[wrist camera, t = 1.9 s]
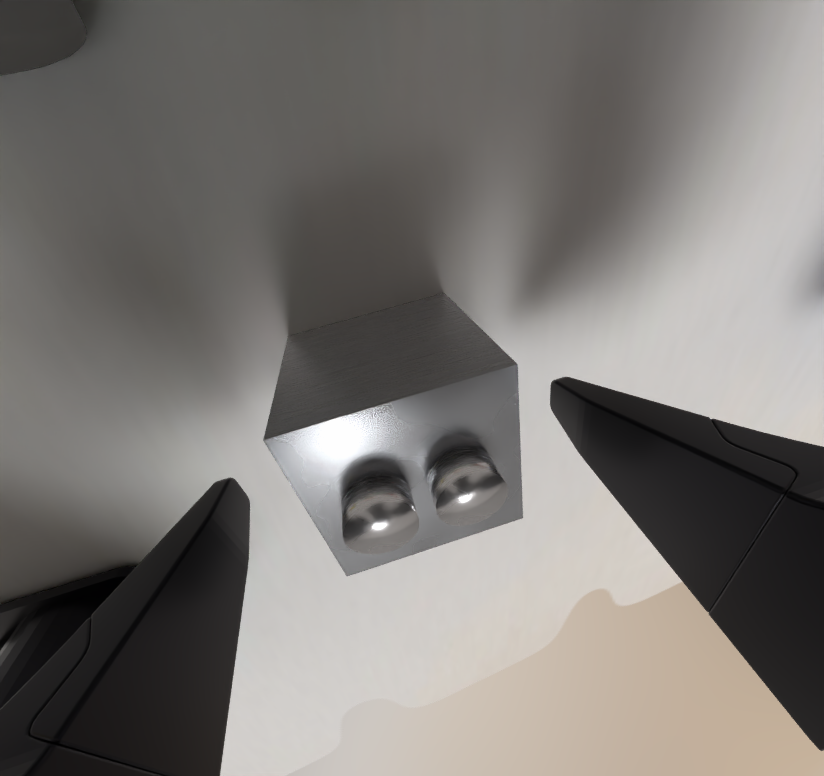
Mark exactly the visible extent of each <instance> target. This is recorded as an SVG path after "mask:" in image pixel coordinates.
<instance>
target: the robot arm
mask: <svg viewBox="0 0 824 776" xmlns="http://www.w3.org/2000/svg"><path fill="white" fill-rule="evenodd" d="M550 406H551V409H552V411H553V413H554V415H555V416H556V418H557V419H558V421H559V423H560V424H561V426H562V427H563V429H564V430H565V432H566V434H567V435H568V437H569V438H570V440H571V441H572V443H573V445H574V446H575V448H576V449H577V451H578V452H579V454H580V455H581V456H582V457H583V459H584V460H585V461H586V463H587V464H588V465H589V466H590V468H591V469H592V470H593V471H594V472H595V474H596V475H597V476H598V477H599V479H600V480H601V481H602V482H603V484H604V485H605V486H606V487H607V489H608V490H609V491H610V492H611V494H612V495H613V496H614V497H615V498H616V500H617V501H618V502H619V503H620V505H621V506H622V507H623V508H624V510H625V511H626V512H627V513H628V515H629V516H630V517H631V518H632V520H633V521H634V522H635V523H636V524H637V526H638V527H639V528H640V529H641V531H642V532H643V533H644V534H645V536H646V537H647V538H648V539H649V541H650V542H651V543H652V544H653V546H654V547H655V548H656V549H657V550H658V552H659V553H660V554H661V555H662V557H663V558H664V559H665V560H666V562H667V563H668V564H669V565H670V567H671V568H672V569H673V570H674V572H675V573H676V574H677V575H678V576H679V578H680V579H681V580H682V581H683V582H684V584H685V585H686V586H687V587H688V589H689V590H690V591H691V592H692V594H693V595H694V596H695V597H696V599H697V600H698V601H699V602H700V604H701V605H702V606H703V607H704V609H705V610H706V611H707V612H709V615H710V616H711V618H712V619H713V620H714V621H715V623H716V624H717V625H718V626H719V627H720V629H721V630H722V631H723V633H724V634H725V635H726V636H727V637H728V639H729V640H730V641H731V642H732V644H733V645H734V646H735V647H736V649H737V650H738V651H739V652H740V654H741V655H742V656H743V657H744V659H745V660H746V661H747V662H748V663H749V665H750V666H751V667H752V668H753V670H754V671H755V672H756V673H757V675H758V676H759V677H760V678H761V679H762V681H763V682H764V683H765V684H766V686H767V687H768V688H769V689H770V691H771V692H772V693H773V694H774V696H775V697H776V698H777V699H778V701H779V702H780V703H781V704H782V706H783V707H784V708H785V709H786V710H787V712H788V713H789V714H790V715H791V717H792V718H793V719H794V720H795V722H796V723H797V724H798V725H799V727H800V728H801V729H802V730H803V732H804V733H805V734H806V735H807V736H808V738H809V739H810V740H811V741H812V742H813V743H814V744H815V745H816V747H817V748H818V749H819V750H821V751H823V750H824V447H822V446H817V445H813V444H809V443H805V442H800V441H796V440H792V439H788V438H784V437H780V436H776V435H771V434H767V433H763V432H759V431H756V430H752V429H748V428H745V427H741V426H737V425H734V424H730V423H727V422H723V421H720V420H716V419H710V418H709V417H706V416H702V415H699V414H695V413H692V412H688V411H685V410H681V409H678V408H674V407H671V406H667V405H664V404H660V403H657V402H654V401H650V400H647V399H643V398H640V397H636V396H633V395H629V394H626V393H622V392H619V391H615V390H612V389H608V388H605V387H601V386H598V385H594V384H591V383H587V382H584V381H580V380H577V379H573V378H570V377H562V378H559V379H556V380H553V381H552V383H551V393H550ZM249 530H250V501H249V498H248V496H247V495H246V493H245V492H244V491H243V489H242V488H241V487H240V485H239V484H238V482H237V481H236V480H235V479H234V478H227V479H223V480H220V481H217V482H215V483H214V484H213V485H212V486H211V487H210V488H209V489H208V490H207V492H206V493H205V494H204V495H203V496H202V497H201V498H200V499H199V500H198V501H197V502H196V503H195V504H194V506H193V507H192V508H191V509H190V510H189V511H188V512H187V513H186V514H185V515H184V516H183V517H182V518H181V519H180V521H179V522H178V523H177V524H176V525H175V526H174V527H173V528H172V529H171V530H170V531H169V532H168V533H167V534H166V536H165V537H164V538H163V539H162V540H161V541H160V542H159V543H158V544H157V545H156V546H155V547H154V548H153V550H152V551H151V552H150V553H149V554H148V555H147V556H146V557H145V558H144V559H143V560H142V561H141V562H140V563H139V565H138V566H137V567H128V566H126V567H120V568H117V569H114V570H111V571H108V572H104V573H101V574H98V575H95V576H92V577H88V578H85V579H82V580H79V581H76V582H72V583H69V584H66V585H63V586H59V587H56V588H53V589H50V590H47V591H43V592H40V593H37V594H34V595H31V596H27V597H24V598H21V599H18V600H15V601H11V602H8V603H5V604H2V605H0V776H220V770H221V763H222V755H223V748H224V741H225V733H226V726H227V718H228V711H229V703H230V696H231V688H232V681H233V674H234V666H235V659H236V651H237V644H238V636H239V629H240V622H241V614H242V607H243V599H244V592H245V584H246V577H247V569H248V560H249Z"/></svg>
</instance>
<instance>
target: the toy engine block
mask: <svg viewBox="0 0 824 776" xmlns="http://www.w3.org/2000/svg"><path fill="white" fill-rule="evenodd" d="M264 442H265V444H266V445H267V447H268V448H269V450H270V452H271V453H272V455H273V457H274V458H275V460H276V462H277V463H278V465H279V466H280V468H281V470H282V471H283V473H284V475H285V476H286V478H287V479H288V481H289V483H290V484H291V486H292V488H293V489H294V491H295V492H296V494H297V496H298V497H299V499H300V501H301V502H302V504H303V506H304V507H305V509H306V510H307V512H308V514H309V515H310V517H311V519H312V520H313V522H314V523H315V525H316V527H317V528H318V530H319V532H320V533H321V535H322V536H323V538H324V540H325V541H326V543H327V545H328V546H329V548H330V550H331V551H332V553H333V554H334V556H335V558H336V559H337V561H338V563H339V564H340V566H341V567H342V569H343V571H344V572H345V574H346V576H350V575H353V574H356V573H359V572H362V571H365V570H368V569H371V568H374V567H377V566H380V565H383V564H386V563H389V562H392V561H395V560H398V559H401V558H404V557H407V556H410V555H413V554H416V553H419V552H422V551H425V550H428V549H431V548H434V547H437V546H440V545H443V544H446V543H449V542H452V541H455V540H458V539H461V538H464V537H467V536H470V535H473V534H476V533H479V532H482V531H485V530H488V529H491V528H494V527H497V526H500V525H503V524H506V523H509V522H512V521H515V520H518V519H521V518H523V508H522V480H521V451H520V422H519V394H518V365H517V363H516V362H515V361H514V360H513V359H512V358H511V357H510V356H508V355H507V354H506V353H505V352H504V351H503V350H502V349H501V348H500V347H499V346H498V345H497V344H496V343H495V342H494V341H493V340H492V339H491V338H490V337H489V336H488V335H487V334H486V333H485V332H484V331H483V330H482V329H481V328H480V327H479V326H478V325H476V324H475V323H474V322H473V321H472V320H471V319H470V318H469V317H468V316H467V315H466V314H465V313H464V312H463V311H462V310H461V309H460V308H459V307H458V306H457V305H456V304H455V303H454V302H453V301H452V300H451V299H450V298H449V297H448V296H447V295H446V294H445V293H442V294H438V295H435V296H431V297H428V298H424V299H420V300H417V301H413V302H410V303H406V304H402V305H399V306H395V307H392V308H388V309H384V310H381V311H377V312H374V313H370V314H367V315H363V316H359V317H356V318H352V319H349V320H345V321H341V322H338V323H334V324H331V325H327V326H323V327H320V328H316V329H313V330H309V331H305V332H302V333H298V334H295V335H291V336H288V339H287V343H286V348H285V352H284V356H283V360H282V364H281V369H280V373H279V377H278V381H277V385H276V390H275V394H274V398H273V402H272V406H271V410H270V415H269V419H268V423H267V427H266V431H265V436H264Z"/></svg>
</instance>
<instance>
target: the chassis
mask: <svg viewBox="0 0 824 776" xmlns="http://www.w3.org/2000/svg"><path fill="white" fill-rule="evenodd" d="M86 35H87V32H86V27H85V25H84V23H83V21H82V19H81V17H80V15H79V14H78V12H77V10H76V8H75V6H74V4H73V2H72V0H0V75H4V74H11V73H17V72H22V71H27V70H31V69H35V68H39V67H43V66H46V65H49V64H52V63H55V62H57V61H60V60H62V59H64V58H66V57H68V56H70V55H71V54H73V53H74V52H76V51H77V50H78V49H79V48H80V47H81V46H82V45H83V43H84V41H85V40H86Z"/></svg>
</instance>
